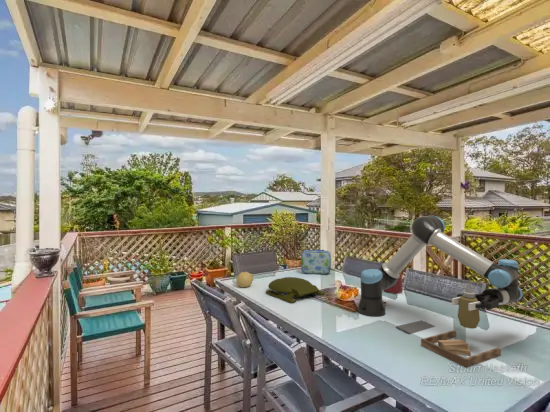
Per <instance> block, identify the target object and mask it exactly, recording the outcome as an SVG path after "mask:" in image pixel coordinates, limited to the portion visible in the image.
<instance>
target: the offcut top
mask: <svg viewBox="0 0 550 412" xmlns="http://www.w3.org/2000/svg"><path fill="white" fill-rule="evenodd" d="M437 345H438V346H440V347H442V348H444V349H446V350H455V349H468V347H469V344H468V343H467V342H465V341H464V340H462V339H448V340H438V343H437Z"/></svg>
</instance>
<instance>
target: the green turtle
mask: <svg viewBox="0 0 550 412" xmlns="http://www.w3.org/2000/svg"><path fill="white" fill-rule="evenodd" d="M267 287H268V289H269V290H268V289H267V290H266V292H265V294H266V295H268V296H272V297H274V298H277V299H279V300H282V301H284V302H286V303H289V304H296V302H297V300H296V299H295V298H301V297H304V296H308V295H311V294H314V293H315V294H314V295H317V294H318V295H317V296H321V295H322V296H325V295H326V293H325V292H324V291H322V290H320V289H319V288H318V287H317V285H315V284H313V283H312V282H310V281H309V280H307V279H304V278H300V277H295V276H294V277H290V276H286V277H281V278H276V279H273V280H272V281H270V282H269V284H268V286H267ZM283 293H287V294H286V295H285V294H283ZM324 294H325V295H324Z"/></svg>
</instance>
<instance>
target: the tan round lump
mask: <svg viewBox="0 0 550 412" xmlns="http://www.w3.org/2000/svg"><path fill="white" fill-rule="evenodd" d="M253 281H254V274H253V273H249V272H248V271H242V272H239V274H238V275H237V277H236V284H237V286H238V287H239V288H248V287H250V286H252V283H253Z"/></svg>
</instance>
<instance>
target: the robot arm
mask: <svg viewBox="0 0 550 412" xmlns="http://www.w3.org/2000/svg"><path fill="white" fill-rule="evenodd" d="M445 230H446V226H445V222H444V220H443V219H442V218H440V217H439V216H436V215H427V216H419V217H417V218H415V220H413V222H412V224H411V236H409V238H408V239H406V241H405V242H404V243H403V244H402V246H401V247H400V248H398V250H397V252H396V253H395V254H393V256H392V257H391V258H390V259H389V260H388V261H387V262H384V263H382V264H381V265H380V267H379V268H378V269H377V268H369V269H365V270H362V271H361V274H360V299H359V302H358V305H357V312H358V313H359V314H362V315H365V316H368V317H382V316H385V315H386V307H385V304H384V300H383V292H384V290H385V289H388V288H391V287H393V286H394V285H395V284H396V282H397V279H398V278H399V277H400V274H399V273H400V272H401V273H402V271H403V270H404V269H405V268H406V266H408V265H409V263H411V261H412V260H413V259H414V258H415V257H416V256H417V255H418V254H419V253H420V252H421V250H422V249H423V248H424V247H425V246H433V247H434V248H436V249H438V250H440V251H442V252H443V253H445V254H446V255H448V256H450V257H451V258H453V259H455V260H456V261H458V262H459V263H461V264H462V265H463V266H465V267H467V268H469V269H470V270H473V271H474V272H475V273H477V274H479V275H480V276H482V277H483V278H486V280H488V282H489V283H490V285H491V286H493V287H492V288H488V289H484V290H483V291H482V292H480V293H475V298H476V299H478V302H473V303H469V304H468V310H469V311H471V310H475V309H479V310H480V309H481V310H482V309H486V310H487V311H490V310H494V309H497V308H501V307H503V305H506V304H512V303H513V304H514V303H516V302H518V301H520V300H521V299H522V298H523V297H524V296H523V295H524V294H523V291H522V289H521V287H519V270H520V268H519V262H518V261H517V260H515V259H506V258H505V259H504V258H502V259H499V260H498V262H497V263H496V262H494V261H492V260H490V259H488V258H486V257H485V256H484V255H482V254H480V253H478V252H476V251H474V250H473V249H471V248H470V247H468V246H467V245H464V244H462V243H461V242H459V241H457V239H454V238H453V237H450V236H449V235H448V234H445V233H444V232H445ZM461 296H463V293H460V294H459V293H458V294H457V295H456V297H453V298H451V305H452V306H456V305H459V301H460V297H461Z"/></svg>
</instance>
